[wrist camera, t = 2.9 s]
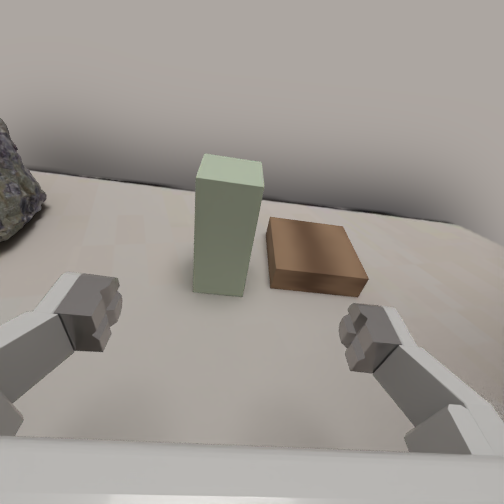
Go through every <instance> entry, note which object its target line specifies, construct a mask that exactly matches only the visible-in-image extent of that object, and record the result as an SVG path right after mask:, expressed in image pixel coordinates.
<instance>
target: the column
mask: <svg viewBox="0 0 504 504" xmlns="http://www.w3.org/2000/svg"><path fill="white" fill-rule="evenodd" d="M263 191H264V181H263V172H262V163H261V162H257V161H251V160H244V159H238V158H231V157H224V156H218V155H210V154H204V157H203V159H202V162H201V165H200V167H199V170H198V173H197V176H196V191H195V230H194V270H193V292H196V293H207V294H217V295H227V296H238V297H242V296H243V291H244V286H245V281H246V276H247V271H248V266H249V261H250V256H251V251H252V246H253V241H254V236H255V231H256V226H257V221H258V216H259V211H260V206H261V201H262V196H263Z"/></svg>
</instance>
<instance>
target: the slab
mask: <svg viewBox="0 0 504 504" xmlns="http://www.w3.org/2000/svg"><path fill="white" fill-rule="evenodd" d="M266 242H267V253H268V265H269V277H270V288H274V289H283V290H293V291H303V292H312V293H322V294H332V295H342V296H351V297H358V296H359V294H360V293H361V291H362V289H363V288H364V286H365V284H366V283H367V281H368V279H369V278H368V276H367V274H366V272H365V270H364V268H363V266H362V264H361V262H360V260H359V258H358V256H357V254H356V252H355V250H354V248H353V246H352V244H351V242H350V240H349V238H348V236H347V234H346V232H345V230H344V228H343V226H335V225H328V224H320V223H313V222H305V221H298V220H290V219H282V218H275V217H270V219H269V224H268V228H267V232H266Z"/></svg>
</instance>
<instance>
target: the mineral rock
mask: <svg viewBox="0 0 504 504" xmlns="http://www.w3.org/2000/svg"><path fill="white" fill-rule="evenodd" d="M16 150H18V149H17V147H16V145H15V144H14V143H13V142H12V140H11V138H10V135H9V131H8V128H7V126H6V124H5V123H4V122H3V120H2V119H1V118H0V242H2V241H5V240H8V239H9V238H10V237H11V236H13V235H14V234H15V233H16V232H17V231H18V230H19V229H22V228H23V225H24V224H26V223H27V222H29V221H30V219H31V218H32V217H33V216H34V214H35V213H36V212H38V211H40V210H41V204H42V203H43V202H44V201H45V200H46V194H45V192H44V191H43V190H41V187H40V185H39V183H38V182H37V181H36V180H35V178H34V177H33V176H32V174H31V173H30V171H29V169H28V168H26V167H24V165H23V163H22V161H21V157H20V155H19V154H18V153H17V152H16Z"/></svg>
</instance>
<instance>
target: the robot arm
mask: <svg viewBox="0 0 504 504" xmlns="http://www.w3.org/2000/svg"><path fill="white" fill-rule="evenodd" d="M119 286H120V285H119V281H118V278H115V277H107V276H99V275H92V274H82V273H75V272H65V273H64V274H62V275H61V276H60V277H59V279H58V280H57V281H56V283H55V284H54V285H53V286H52V288H51V289H50V290H49V291H48V293H47V294H46V295H45V296H44V298H43V299H42V300H41V301H40V303H39V304H38V305H37V306H36V308H35V309H34V310H33V311H32V312H29V311H26V312H25V313H23V314H21V315H19V316H17V317H15V318H13V319H11V320H9V321H7V322H5V323H4V324H2V325H0V504H504V422H503V421H502V419H501V418H500V416H499V415H498V413H497V412H496V410H495V409H494V407H493V406H492V405H491V404H490V403H488V402H487V401H486V400H485V399H483V398H482V397H481V396H480V395H479V394H477V393H476V392H475V391H474V390H473V389H471V388H470V387H469V386H468V385H467V384H465V383H464V382H463V381H462V380H461V379H459V378H458V377H457V376H456V375H455V374H453V373H452V372H451V371H450V370H449V369H447V368H446V367H445V366H444V365H443V364H441V363H440V362H439V361H438V360H436V359H435V358H434V357H433V356H432V355H430V354H429V353H428V352H427V351H426V350H424V349H423V348H422V347H417V345H416V343H415V341H414V339H413V338H412V336H411V334H410V332H409V331H408V329H407V327H406V325H405V323H404V322H403V320H402V318H401V316H400V314H399V313H398V311H397V310H396V309H395V308H394V307H388V306H378V305H369V304H359V303H353V304H351V305H350V306H349V308H348V312H349V314H348V315H346V316H344V317H343V318H342V320H341V322H340V325H339V337H340V340H341V343H342V344H343V345H344V346H345V347H346V348H347V349H346V352H345V356H346V359H347V363H348V366H349V369H350V371H354V372H364V373H373V376H374V377H375V378H376V380H377V381H378V382H379V383H380V384H381V386H382V387H383V388H384V389H385V391H386V392H387V393H388V394H389V395H390V397H391V398H392V399H393V400H394V402H395V403H396V404H397V405H398V406H399V408H400V409H401V410H402V411H403V413H404V414H405V415H406V416H407V417H408V419H409V420H410V421H411V422H412V424H413V425H414V426H415V428H414V429H412V430H411V431H409V432H408V433H406V435H405V437H404V439H405V442H406V444H407V447H408V449H409V452H395V451H371V450H346V449H322V448H297V447H273V446H248V445H224V444H199V443H175V442H150V441H125V440H101V439H76V438H51V437H26V436H15V435H16V433H17V431H18V429H19V428H20V426H21V424H22V422H23V421H24V419H23V416H22V414H21V413H20V412H19V411H18V410H17V409H16V407H15V406H14V405H13V404H12V403H14V402H15V401H16V400H17V399H18V398H20V397H21V396H22V395H23V394H25V393H26V392H27V391H28V390H29V389H31V388H32V387H33V386H34V385H35V384H37V383H38V382H39V381H40V380H41V379H43V378H44V377H45V376H46V375H47V374H49V373H50V372H51V371H52V370H53V369H55V368H56V367H57V366H58V365H60V364H61V363H62V362H63V361H64V360H66V359H67V358H68V357H69V356H70V355H72V354H73V353H74V351H91V352H103V351H104V349H105V347H106V345H107V342H108V340H109V338H110V336H111V330H110V327H111V326H112V325H114V324H115V323H117V321H118V319H119V316H120V313H121V309H122V295H121V294H120V293H119V292H118V291H117V290H118V288H119Z"/></svg>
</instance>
